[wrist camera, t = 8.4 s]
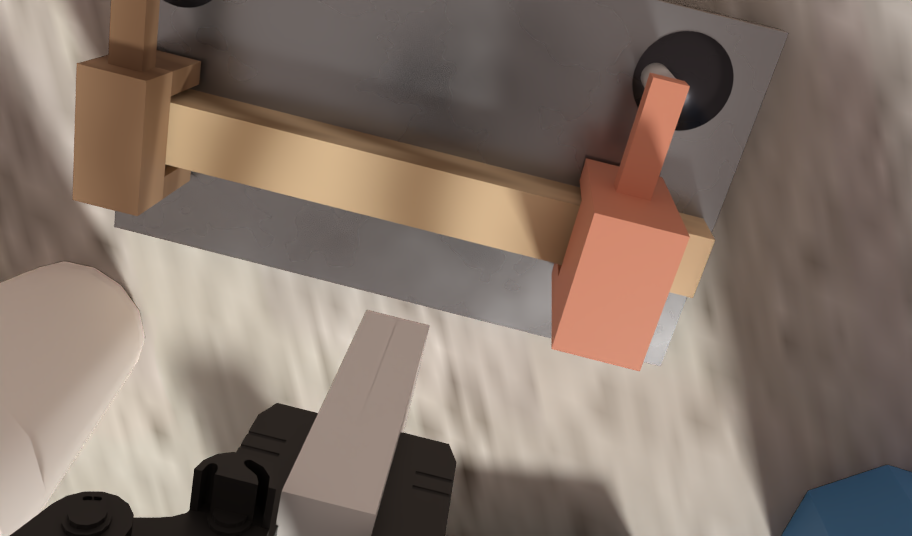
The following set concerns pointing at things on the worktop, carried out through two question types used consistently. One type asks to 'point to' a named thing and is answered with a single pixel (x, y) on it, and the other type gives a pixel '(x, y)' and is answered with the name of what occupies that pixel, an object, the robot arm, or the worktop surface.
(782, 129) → the worktop surface
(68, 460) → the foam cup
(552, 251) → the beam gauge
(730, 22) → the bolt plate
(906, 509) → the water bottle
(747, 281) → the worktop surface
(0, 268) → the worktop surface
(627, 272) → the sliding jaw
